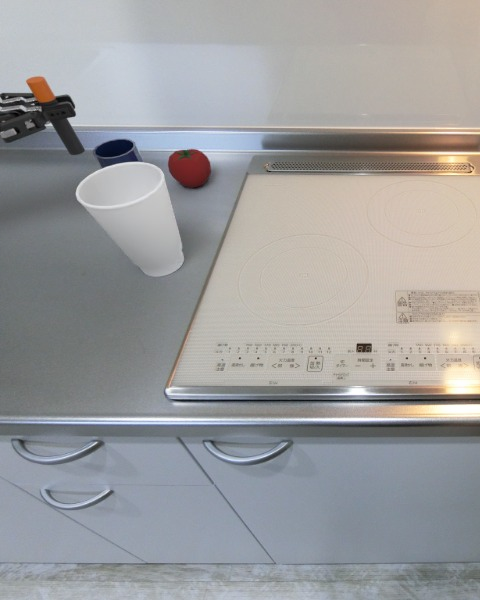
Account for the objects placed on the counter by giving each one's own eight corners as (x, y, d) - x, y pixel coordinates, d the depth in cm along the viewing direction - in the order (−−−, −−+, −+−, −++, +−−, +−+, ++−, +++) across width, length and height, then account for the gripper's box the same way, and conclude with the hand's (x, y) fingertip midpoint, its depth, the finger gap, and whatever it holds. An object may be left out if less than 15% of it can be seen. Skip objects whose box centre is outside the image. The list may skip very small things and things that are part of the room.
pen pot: (105, 184, 91) (85, 148, 85) (141, 169, 95) (124, 134, 89) (123, 198, 87) (103, 162, 82) (158, 182, 91) (142, 147, 85)
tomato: (216, 170, 95) (206, 139, 89) (211, 191, 89) (199, 160, 84) (178, 172, 94) (165, 141, 89) (170, 194, 89) (156, 162, 83)
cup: (171, 294, 70) (126, 214, 59) (110, 278, 73) (54, 198, 61) (212, 248, 78) (180, 168, 66) (156, 234, 80) (115, 155, 68)
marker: (66, 151, 75) (23, 79, 66) (81, 146, 77) (40, 74, 68) (72, 156, 74) (29, 84, 65) (87, 151, 76) (47, 79, 67)
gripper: (-85, 123, 58) (61, 98, 64) (-70, 84, 66) (59, 65, 72) (-44, 172, 64) (87, 145, 70) (-34, 131, 72) (83, 110, 78)
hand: (72, 105), depth 71 cm, fingers closed on marker, 2 cm apart
